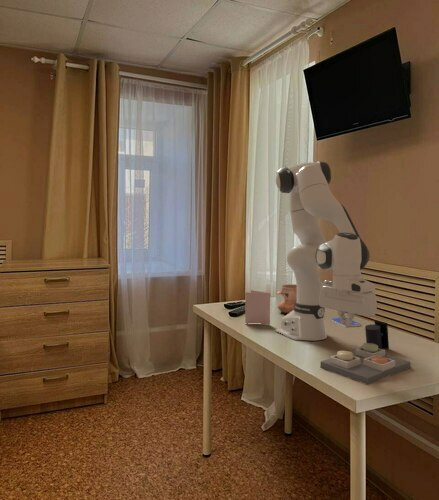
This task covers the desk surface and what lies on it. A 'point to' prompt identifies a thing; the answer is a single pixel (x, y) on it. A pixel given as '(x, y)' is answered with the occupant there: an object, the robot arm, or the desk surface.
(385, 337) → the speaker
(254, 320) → the greeting card
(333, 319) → the hard drive
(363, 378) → the button console
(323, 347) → the desk surface
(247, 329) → the desk surface
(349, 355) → the sand button
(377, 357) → the terracotta button
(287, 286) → the ceramic jug
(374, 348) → the sage button
